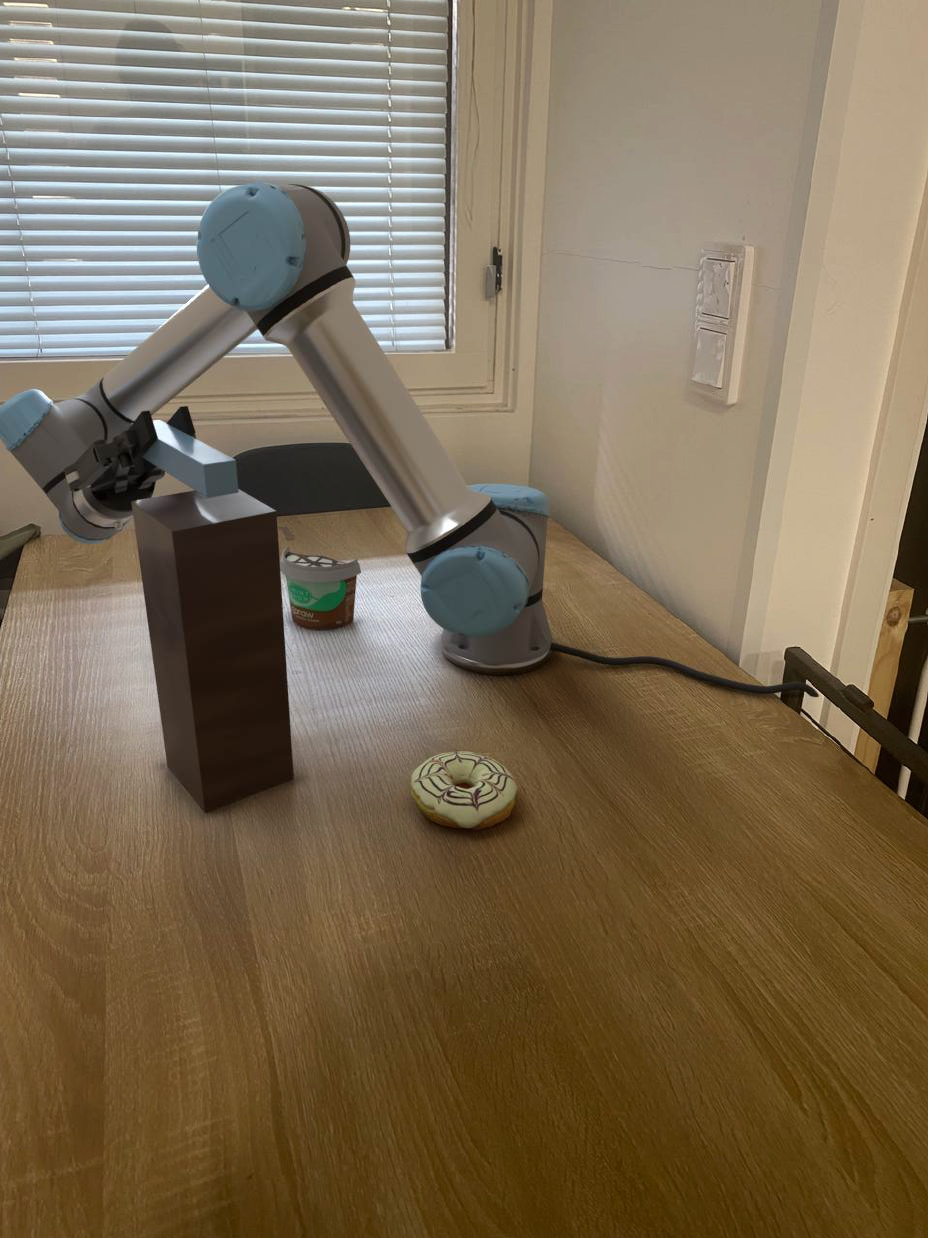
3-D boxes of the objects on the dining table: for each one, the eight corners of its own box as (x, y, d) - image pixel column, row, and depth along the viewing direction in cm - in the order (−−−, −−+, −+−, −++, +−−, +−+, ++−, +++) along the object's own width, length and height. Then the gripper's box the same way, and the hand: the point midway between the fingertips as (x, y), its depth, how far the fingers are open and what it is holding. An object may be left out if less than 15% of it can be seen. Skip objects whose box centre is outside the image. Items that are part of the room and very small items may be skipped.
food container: (266, 624, 131) (261, 559, 126) (289, 607, 136) (285, 545, 131) (341, 640, 127) (339, 574, 122) (362, 623, 132) (360, 559, 127)
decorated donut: (477, 852, 87) (478, 820, 85) (390, 810, 93) (390, 779, 91) (533, 798, 95) (535, 769, 93) (450, 763, 100) (451, 734, 99)
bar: (134, 452, 92) (130, 423, 91) (163, 448, 94) (159, 419, 93) (207, 498, 79) (203, 464, 78) (238, 492, 81) (236, 459, 80)
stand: (167, 766, 98) (131, 500, 86) (252, 737, 104) (230, 484, 91) (204, 813, 91) (171, 531, 78) (294, 779, 97) (276, 510, 84)
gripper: (189, 506, 110) (258, 448, 91) (51, 531, 101) (94, 473, 82) (172, 447, 110) (236, 375, 91) (31, 467, 101) (70, 393, 82)
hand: (169, 422), depth 86 cm, fingers closed on bar, 3 cm apart
